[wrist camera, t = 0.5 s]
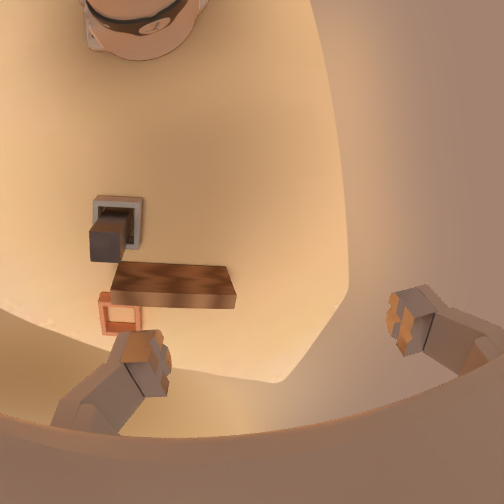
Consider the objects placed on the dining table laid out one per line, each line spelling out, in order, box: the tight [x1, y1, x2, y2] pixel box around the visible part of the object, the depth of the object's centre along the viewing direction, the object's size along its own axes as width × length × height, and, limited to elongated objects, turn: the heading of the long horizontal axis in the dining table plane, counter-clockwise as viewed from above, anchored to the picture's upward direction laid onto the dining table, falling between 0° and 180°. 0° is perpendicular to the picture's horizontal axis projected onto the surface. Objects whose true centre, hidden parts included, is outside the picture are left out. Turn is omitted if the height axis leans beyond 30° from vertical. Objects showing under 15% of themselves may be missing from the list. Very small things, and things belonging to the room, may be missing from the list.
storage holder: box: [93, 196, 143, 250], centre depth 41 cm, size 7×7×3 cm
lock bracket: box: [98, 292, 142, 336], centre depth 48 cm, size 7×7×3 cm
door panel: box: [110, 262, 237, 309], centre depth 45 cm, size 18×4×9 cm, turn 80°
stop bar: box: [89, 207, 132, 263], centre depth 38 cm, size 4×4×11 cm
